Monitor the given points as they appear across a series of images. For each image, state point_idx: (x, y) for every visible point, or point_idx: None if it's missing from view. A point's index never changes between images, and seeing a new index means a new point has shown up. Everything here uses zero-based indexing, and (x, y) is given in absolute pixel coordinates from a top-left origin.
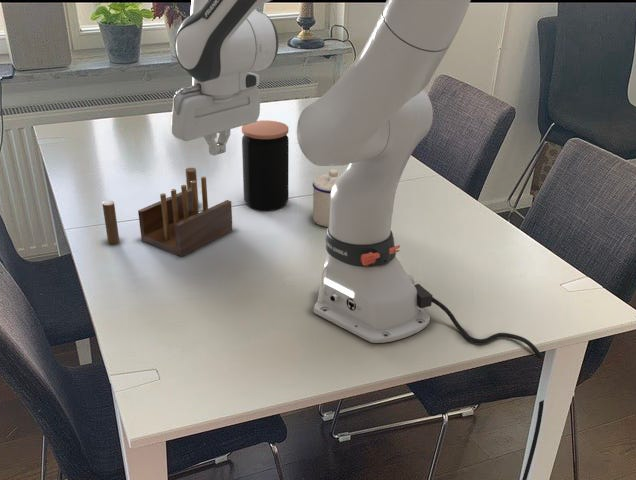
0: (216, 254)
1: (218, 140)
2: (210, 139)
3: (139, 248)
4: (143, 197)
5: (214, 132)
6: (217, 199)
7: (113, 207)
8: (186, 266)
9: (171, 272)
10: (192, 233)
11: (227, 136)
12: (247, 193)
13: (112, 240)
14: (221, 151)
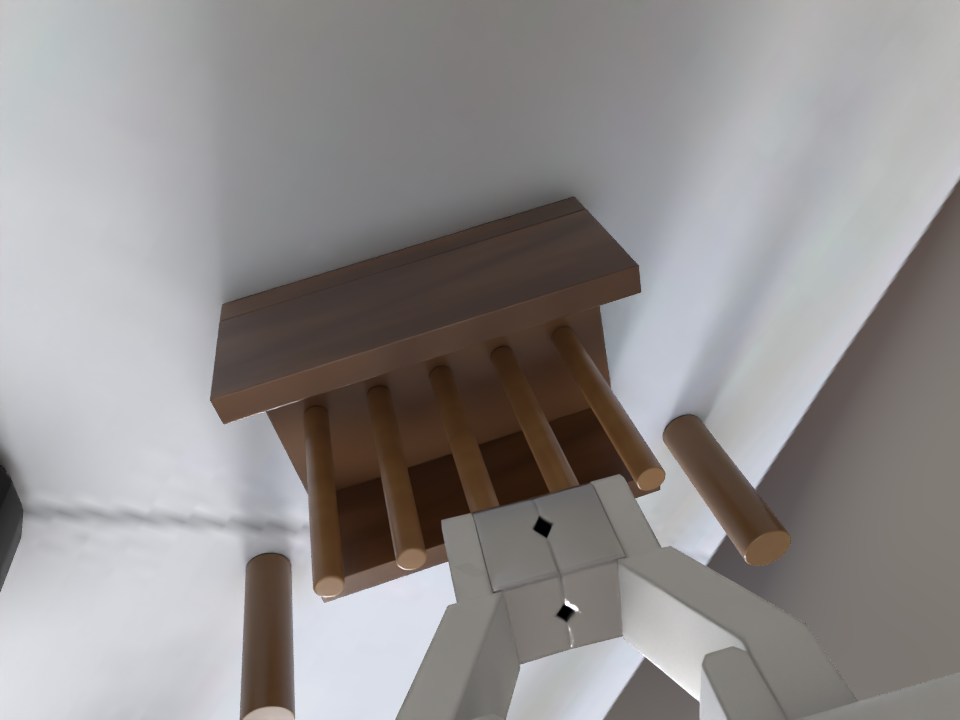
0: (429, 121)
1: (512, 684)
2: (799, 636)
3: (649, 349)
4: (398, 672)
5: (886, 716)
6: (136, 589)
7: (754, 522)
8: (615, 95)
9: (699, 83)
10: (520, 258)
11: (450, 700)
12: (2, 536)
13: (703, 427)
14: (522, 514)
